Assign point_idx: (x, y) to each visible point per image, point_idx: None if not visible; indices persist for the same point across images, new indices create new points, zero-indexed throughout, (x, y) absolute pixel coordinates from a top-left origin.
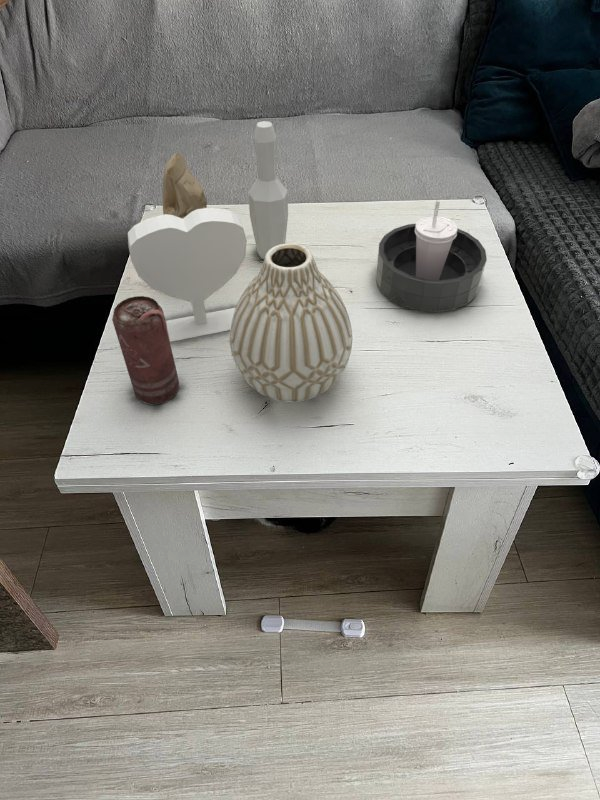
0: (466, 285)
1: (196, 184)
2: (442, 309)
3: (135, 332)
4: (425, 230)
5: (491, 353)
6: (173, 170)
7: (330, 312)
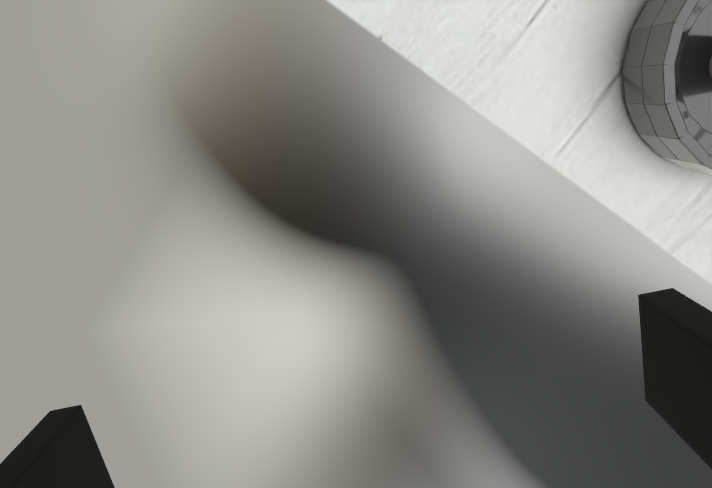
0: (655, 50)
1: None
2: (646, 7)
3: None
4: None
5: (498, 3)
6: None
7: None
